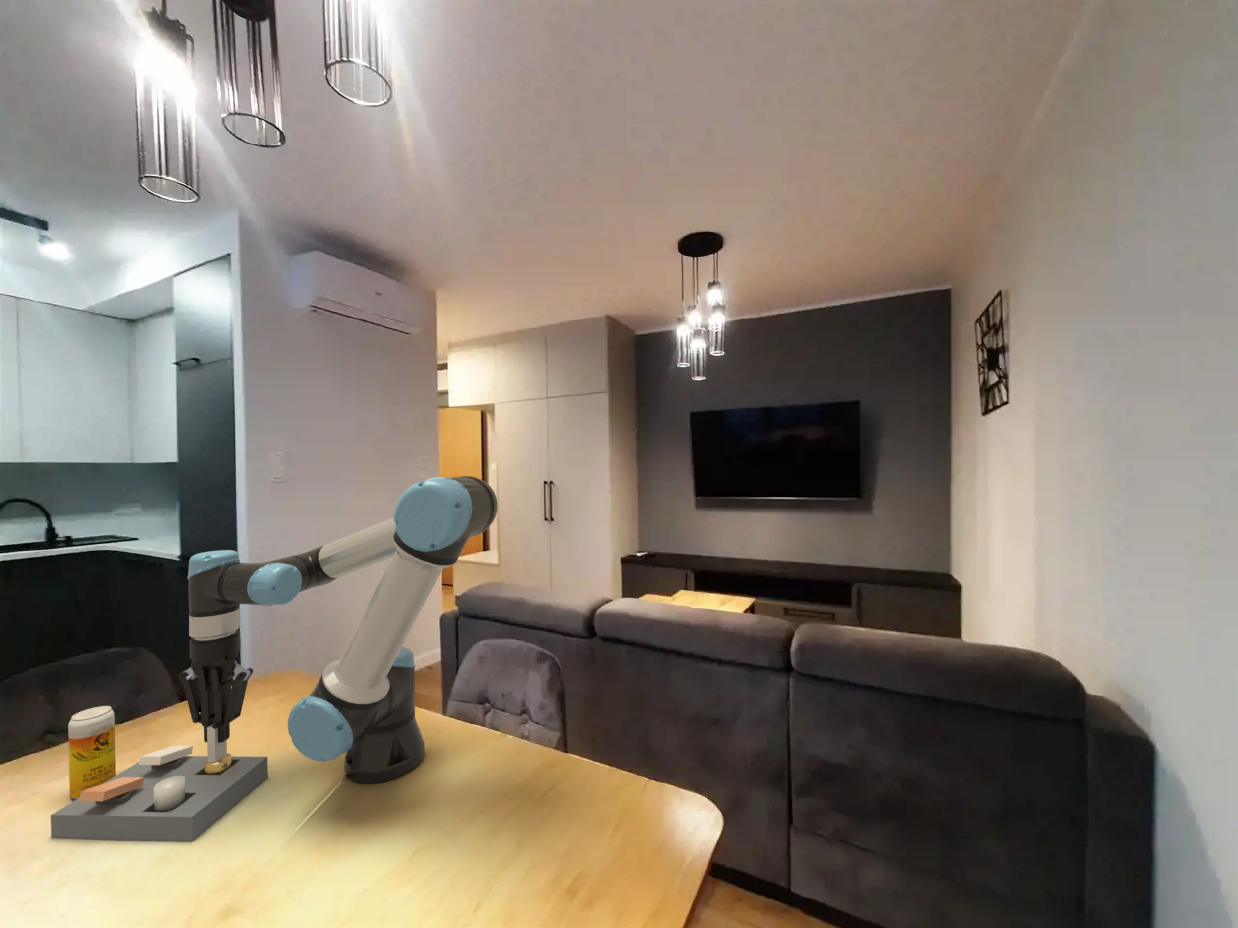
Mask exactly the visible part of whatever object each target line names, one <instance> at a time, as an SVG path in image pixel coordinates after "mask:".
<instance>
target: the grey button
mask: <svg viewBox="0 0 1238 928" xmlns="http://www.w3.org/2000/svg"><path fill="white" fill-rule="evenodd" d="M184 800H185V777H184V776H173V777H170V778H167V779H164V780H162V781H160V782H159V783H157V784H156V785H155V786H154V810H155V811H166V810H169V809H172V808H174V807H176V806H178V805H180V804H181V803H183V802H184Z"/></svg>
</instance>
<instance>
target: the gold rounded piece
mask: <svg viewBox="0 0 1238 928" xmlns="http://www.w3.org/2000/svg"><path fill="white" fill-rule="evenodd" d="M231 756H232V754H231V753H228V752H227V754H226V755H225V756H224V757H222V758H221V759H219V760H218V761H217V762H208V759H207V760H206V761H205V763H204V771H205V775H221V774H223V773H224V772H225V771H227V770H228V769H229V768H230V767H231Z"/></svg>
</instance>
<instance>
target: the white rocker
mask: <svg viewBox="0 0 1238 928" xmlns="http://www.w3.org/2000/svg"><path fill="white" fill-rule="evenodd" d="M193 747H194V745H172V746H169V747H166V748H162V749H159V750H155V751H153V752H149V753H147V754H144V755H141V756H139V760H138V762H139V765H161V764H164V763H167V762H170V761H173V760H176V759H179V758H181V757H184V756H191V755H192V754H193Z"/></svg>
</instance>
